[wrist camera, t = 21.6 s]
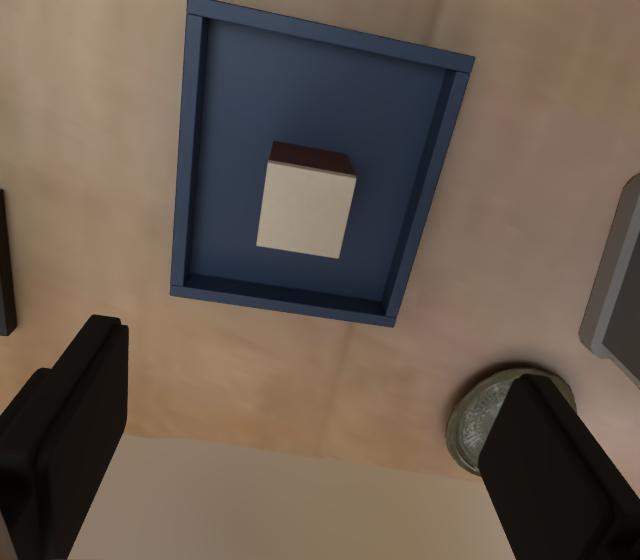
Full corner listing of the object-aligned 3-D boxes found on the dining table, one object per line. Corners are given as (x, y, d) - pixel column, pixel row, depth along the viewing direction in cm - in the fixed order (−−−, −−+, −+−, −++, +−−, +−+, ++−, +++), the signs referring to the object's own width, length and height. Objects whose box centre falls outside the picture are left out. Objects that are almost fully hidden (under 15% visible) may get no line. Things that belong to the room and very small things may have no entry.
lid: (428, 440, 42) (444, 497, 38) (449, 368, 35) (470, 429, 32) (546, 431, 43) (573, 486, 39) (587, 359, 36) (624, 417, 32)
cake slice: (273, 140, 28) (267, 162, 23) (346, 153, 29) (357, 178, 24) (263, 211, 30) (256, 246, 25) (332, 222, 31) (338, 259, 26)
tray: (197, -2, 25) (187, -6, 23) (461, 55, 27) (476, 57, 25) (178, 278, 32) (169, 296, 30) (387, 309, 34) (394, 328, 32)
